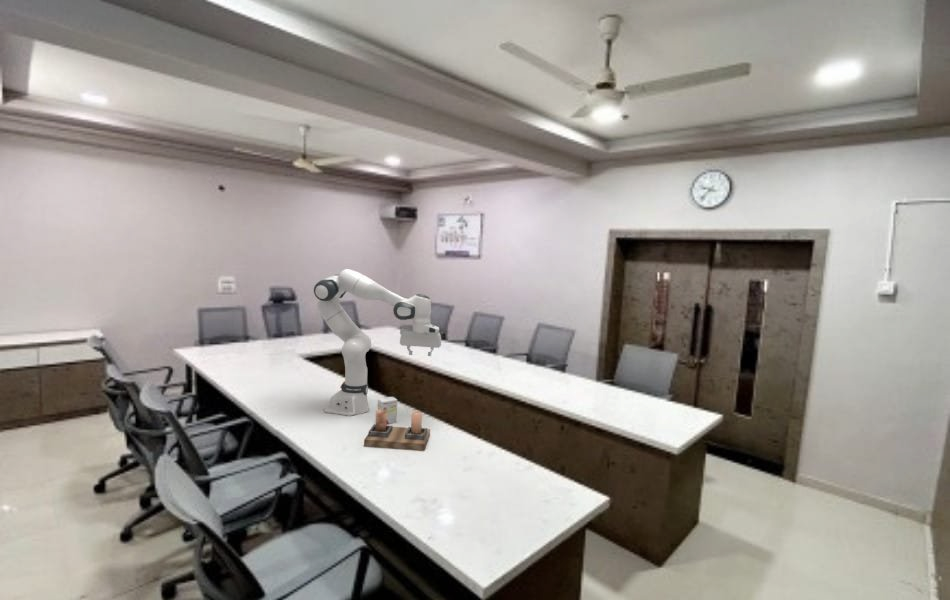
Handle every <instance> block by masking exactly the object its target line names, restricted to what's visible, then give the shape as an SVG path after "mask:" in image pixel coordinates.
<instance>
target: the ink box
mask: <svg viewBox="0 0 950 600" xmlns="http://www.w3.org/2000/svg"><path fill="white" fill-rule="evenodd" d="M380 409H383V410H386V411H387V415H386V425H391V424H395V423H397V422H398V421H397V417H398V399H397V398H396V397H394V396H387V397H380V398H378V400H377V410H380ZM377 410H376V411H377Z"/></svg>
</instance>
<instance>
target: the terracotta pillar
mask: <svg viewBox="0 0 950 600" xmlns="http://www.w3.org/2000/svg"><path fill="white" fill-rule="evenodd" d="M410 415H411V416H410V417H411V420H410V421H411V423H410V425H411V426H410V427H411V434H419V435H421V434H422V428H423V427H422V426H423V425H422V424H423V422H422V420H423V413H422V412H420V411H412V412H411V414H410Z"/></svg>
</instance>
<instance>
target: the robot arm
mask: <svg viewBox="0 0 950 600" xmlns="http://www.w3.org/2000/svg"><path fill="white" fill-rule="evenodd" d="M346 293H349V294H351V295H353V296H354V297H357V298H359V299H363V300H365V301H373V300H374V301H380V302H385V303H386V304H389V305H391V306H393V310H392V311H393V312H392V313H393V315H394V317H395V318H396V319H398V320H400V321H407V320H412V324H411V326H403V327H400V329H399V334H400V338H399V345H400V346H403V347H405V346H406V349H407V351H408V355H410V356H412V355H413V352H414V351H413V350H412V349H411V347H421V348H430V351H428V352H427V356H428V357H432V352H433V351H434V349H435V348H437V349H439V348H440V347H441V346H442V335H441V333H440V327H439V326H436V325H434V324H432V323H431V314H432V303H431V298H430V297H429V296H428V295H426V294H422V293H421V294H420V293H418V294H414V295H413V296H411V297H405V296H402V295H400V294H398V293H396V292H393V290H390V289H388V288H385V287H384V286H382V285H381V284H380V283H378V282H377V281H374V280H373V279H371V278H370V277H368V276H366V275H364V273H363V274H362V273H361V272H359V271H357V270H353V269H350V268H346V269H343V270H342V271H340V273H339V274H334V275H330V276H327V277H325V278H324V279H320V280H319V281H318V282H317V283H316V284H315V285H314V287H313V294H314V297H316V299H317V300H318V302H317V304H316V307H317V310H318V311H319V313H320V315H321V317H322V319H323V320H324V322H325V324H327V326H328V328H329V329H330V331H331V332H332V333H333V334H334V335H335V337H338V338H339V339H340V340H341V341H343V342H344V343H343V345H342V348H341V355H342V357H343V361H344V362H343V363H344V367H345V368H344V370H345V373H344V374H345V375H344V377H345V378H344V381H343V382H342V383H341V385H340V390H338V391H337V392H336V393H334V394H333V395H332V396H331V397H330V399H329V402H328V404H327V405H326V406H325V407H324V409H323V410H324V413H329V414H335V415H342V416H348V417H351V416H355V415H360V414H361V415H362V414H365V413H367V412H368V411H370V406H369V401H368V399H369V398H368V393H369V383H368V367H367V362H366V361H367V360H366V354H367V352H369V351H370V349H371V346H372V340H371V338H370V337H369V335H367V334H365V333H364V332H363V330H362V329H361V328H360V327H359V326H357V325H356V323H355V322H354V321H353V320H352V319H351V317H350V315H348V313H347V312H346V310H345V309H344V308H343V306H342V305H341V303H340V299H342V298H343V297H344V296H345V294H346Z"/></svg>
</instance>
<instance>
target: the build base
mask: <svg viewBox="0 0 950 600" xmlns="http://www.w3.org/2000/svg"><path fill="white" fill-rule="evenodd" d="M386 415H387V411H386V410H383V409H380V410H375V424H373V425H372V426H371V428H370V429H369V430H368V432H367V433H368V434H367V435H366V436H365V438H364V439H363V441H364V442H363V446H364V447H369V448H370V447H371V448H381V449H383V448H384V449H395V450H396V449H397V450H409V451H421V452H422V451H424V452H425V450H426V446H427V444H428V442H429V439H430V436H431V429H429V428H427V427H422V434H421V435H419V434H411V426H408V427H403V426H400V427H399V426H393V425H391V424H386Z"/></svg>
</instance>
